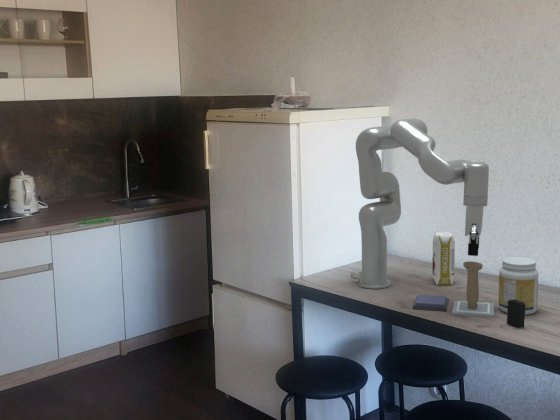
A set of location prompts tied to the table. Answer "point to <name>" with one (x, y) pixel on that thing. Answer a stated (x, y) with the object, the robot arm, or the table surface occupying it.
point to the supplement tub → (518, 283)
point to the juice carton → (443, 258)
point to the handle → (472, 283)
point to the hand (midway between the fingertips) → (473, 251)
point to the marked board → (480, 311)
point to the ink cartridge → (516, 313)
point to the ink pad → (431, 302)
